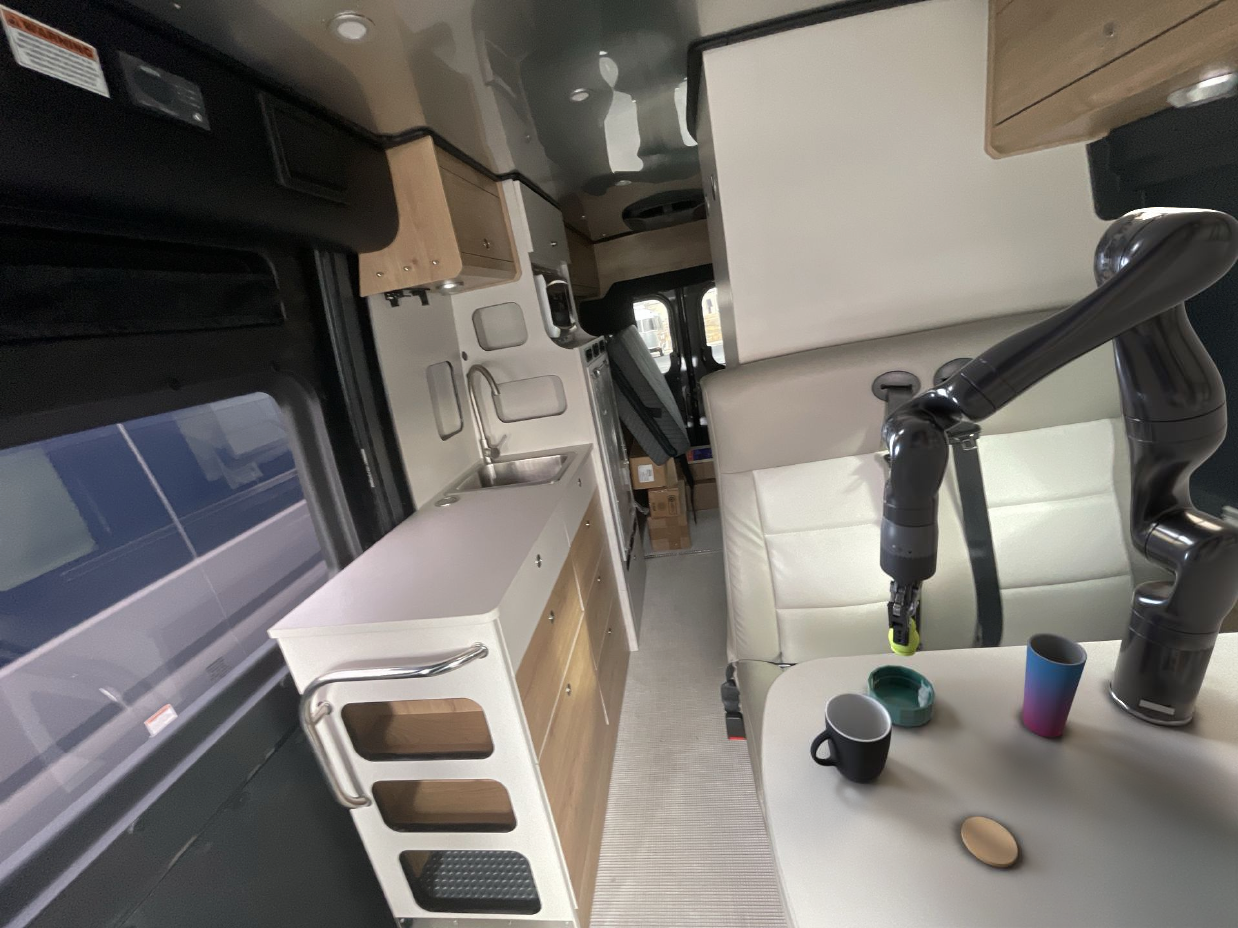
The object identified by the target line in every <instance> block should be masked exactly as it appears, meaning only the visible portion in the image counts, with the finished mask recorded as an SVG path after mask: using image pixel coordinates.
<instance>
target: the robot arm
mask: <svg viewBox="0 0 1238 928" xmlns="http://www.w3.org/2000/svg"><path fill="white" fill-rule="evenodd" d="M1092 257H1093V258H1092V271H1093V277H1094V281H1095V284H1096V287H1097V288H1096V289H1094V290H1093V291H1092V292H1091V293H1089V294H1088V295H1086V296H1085V297H1083V298H1082V299H1080V300H1078V301H1077V302H1075V303H1073V304H1071V305H1070V306H1068V307H1066V308H1064V309H1062V310H1061V311H1059V312H1056V313H1054V314H1053V315H1051V316H1048V317H1047V318H1045V319H1042V320H1040V321H1038V322H1036V323H1033V324H1031V325H1029V326H1027V327H1025V328H1023V329H1020V330H1018V331H1016V332H1014V333H1012V334H1009V335H1008V336H1006V337H1004V338H1003V339H1001V340H999V341H997V342H995V343H994V344H992V345H991V346H989V347H988V348H986V349H985V350H984V351H982V352H981V353H980V354H978V355H977V356H975V357H974V358H973V359H971V360H970V361H969V362H968V363H966V364H965V365H963V366H962V367H961V368H960V369H958V370H957V371H956V372H955V373H953V374H952V375H951V376H950V377H949V378H947V379H946V380H945V381H943V382H941V383H939V384H936V385H935V386H933V387H931V388H929V389H927V390H925V391H923V392H921V393H920V394H918V395H916V396H914V397H912V398H911V399H908V400H907V401H906V402H903V403H902V404H900V405H899V406H898V407H896V408H895V409H894V410H893V411H892V412H891V413H890V414H889V415H888V416H887V417H886V418H885V419H884V421H883V423H882V426H881V427H880V428H881V429H880V439H881V441H882V443H883V445H884V446H885V448H886V450H887V451H888V453H889V457H890V458H889V459H890V475H889V477H888V478H887V479H886V481H885V483H884V486H883V494H882V516H881V522H880V531H879V533H880V535H879V538H880V539H879V567H880V569H881V570H882V572H884V573H885V574H886V575H887V576H889V577H890V578H891V580H890V581H889V588H888V589H889V593H890V597H889V598H890V599H889V601H888V602H887V603H886V607H887V619H888V628H889V629H893V642H894V643H895V644H898V645H902V646H908V645H909V638H910V627H911V618H912V619H913V620H914V622H915V623H916V622H917V621H916V619H917V608H918V606H919V604H920V602H919V600H921V597H922V593H923V592H922V591H923V590H922V588H923V584H924V581H927V580H929V579H931V578H932V577H934V575H935V574H936V572H937V563H938V552H939V551H938V549H939V548H938V547H939V536H940V533H939V532H940V531H939V503H940V490H941V487H942V484H943V481H944V478H945V475H946V471H947V468H948V464H949V459H950V439H949V436H948V434H947V432H948V431H949V430H952V428H954V427H956V426H958V425H960V424H962V423H971V424H979V423H981V422H984V421H986V420H987V419H989V418H990V417H992V416H993V415H995V414H997V412H999V411H1001V410H1002V409H1004V408H1005V407H1006V406H1008V405H1009V404H1011V403H1012V402H1013V401H1015V400H1016V399H1017V398H1020V397H1021V396H1022V395H1024V394H1025V393H1026V392H1028V391H1029V390H1030V389H1032V388H1034V387H1035V386H1037V385H1038V384H1039V383H1041V382H1042V381H1044V380H1045V379H1047V378H1048V377H1050V376H1051V375H1053V374H1054V373H1056V372H1058V371H1059V370H1060V369H1063V368H1064V367H1066V366H1068V365H1069V364H1071V363H1072V362H1074V361H1076V360H1078V359H1080V358H1082V357H1084V356H1085V355H1087V354H1088V353H1090V352H1092V351H1094V350H1096V349H1097V348H1099V347H1101V346H1103V345H1105V344H1107V343H1109V342H1112V350H1113V360H1114V368H1115V375H1116V381H1117V388H1118V395H1119V397H1118V398H1119V409H1120V416H1121V417H1120V418H1121V424H1122V431H1123V435H1124V440H1125V445H1126V452H1127V453H1126V455H1127V466H1128V476H1129V491H1130V493H1129V494H1130V495H1129V496H1130V497H1129V516H1128V517H1129V518H1128V519H1129V520H1128V521H1129V522H1128V524H1129V526H1128V530H1129V531H1128V532H1129V541H1130V544H1131V547H1132V548H1133V550H1134V551H1135V552H1136V553H1137V554H1138V555H1139V556H1140V557H1141V558H1142V559H1144V560H1145V561H1147V562H1149V563H1151V564H1153V565H1154V566H1156V567H1158V568H1160V569H1162V570H1164V571H1166V572H1168V573H1169V574H1171V575H1173V576H1175V577H1176V578H1175V581H1173V580H1149V581H1145V582H1142V583H1140V584H1138V585H1137V586H1136V587H1135V588H1134V590H1133V592H1132V596H1131V600H1130V604H1129V608H1128V612H1127V615H1126V616H1127V617H1126V621H1125V625H1124V629H1123V633H1122V638H1121V641H1120V644H1119V645H1120V646H1119V650H1118V653H1117V658H1116V663H1115V666H1114V670H1113V674H1112V678H1111V680H1110V682H1109V686H1108V692H1109V695H1110V697H1111V698H1112V700H1113V701H1114V702H1115V703H1116V704H1117V705H1118V706H1119V707H1120V708H1121V709H1123V710H1124V711H1126V712H1128V713H1129V714H1130V715H1132V716H1134V717H1136V718H1138V719H1141V720H1143V721H1146V722H1149V723H1152V724H1155V725H1160V726H1166V727H1180V726H1185V725H1187V724H1188V723H1190V722H1191V721H1192V719H1193V716H1194V712H1195V706H1196V703H1197V700H1198V697H1199V695H1200V692H1201V688H1202V685H1203V683H1204V680H1205V677H1206V673H1207V670H1208V667H1209V664H1210V661H1211V658H1212V655H1213V652H1214V649H1215V646H1216V642H1217V639H1218V636H1219V634H1220V633H1219V632H1220V630H1221V627H1222V624H1223V621H1224V619H1225V618H1226V617H1227V615H1228V614H1229V613H1230V612H1231V611H1232V610H1233V608H1234V606H1235V605H1236V603H1237V601H1238V525H1235V524H1233V523H1231V522H1228V521H1226V520H1224V519H1221V518H1219V517H1216V516H1214V515H1211V514H1209V513H1206V512H1204V511H1201V510H1199V509H1197V508H1196V506H1195V505H1194V504H1193V502H1192V500H1191V495H1190V479H1191V478H1190V477H1191V475H1192V474H1193V472H1195V470H1196V469H1197V468H1199V467H1200V466H1201V465H1202V464H1204V462H1206V461H1207V460H1208V459H1209V458H1210V457H1211V456H1212V455H1213V454H1214V453H1215V452H1216V451H1217V450H1218V449H1219V447H1220V446H1221V445H1222V443H1223V442H1224V440H1225V438H1226V435H1227V429H1228V411H1227V409H1228V408H1227V396H1226V388H1225V385H1224V381H1223V378H1222V376H1221V374H1220V371H1219V370H1218V367H1217V365H1216V364H1215V362H1214V361H1213V359H1212V357H1211V355H1210V354H1209V352H1208V351H1207V349H1206V347H1205V346H1204V344H1203V343H1202V341H1201V340H1200V337H1198V334H1197V333H1196V331H1195V330H1194V328H1193V326H1192V324H1191V323H1190V319H1189V317H1188V315H1187V312H1186V306H1185V301H1187V300H1189V299H1191V298H1193V297H1195V296H1196V295H1198V294H1199V293H1201V292H1203V291H1205V290H1206V289H1208V288H1209V287H1211V286H1213V285H1214V284H1216V282H1218V281H1219V280H1220V279H1221V278H1222V277H1224V276H1225V275H1226V274H1227V273H1228V272H1229V271H1230V270H1231V268H1233V266H1234V265H1235V263H1236V262H1237V260H1238V220H1237V219H1236V218H1235V217H1234V216H1232V215H1230V214H1229V213H1225V212H1222V211H1218V210H1212V209H1207V208H1189V207H1147V208H1141V209H1135V210H1133V211H1130V212H1128V213H1126V214H1124V215H1122V216H1120V217H1119V218H1117V219H1116V220H1114V221H1113V222H1112V223H1111V224H1110V225H1109V226H1108V227H1107V228H1106V229H1105V231H1104V232H1103V233H1102V235H1101V236H1100V237H1099V239H1098V242H1097V244H1096V245H1095V249H1094V252H1093V256H1092Z"/></svg>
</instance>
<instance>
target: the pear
mask: <svg viewBox="0 0 1238 928" xmlns="http://www.w3.org/2000/svg"><path fill="white" fill-rule="evenodd" d="M916 629H917V625H916V622H914V620H913V619H912V618H911V627H910V638H909V645H908V646H902V645H898V644H895V643H894V642H893V629H891V628H889V631H888V641H889V643H890V648H891V650H892V651H893V652H894V653H895V654H896V655H900V656H902V657H911V656H914V655H915V654H916V653H917V648H918V647H919V646H920V641H921V640H920V634H919V632H918V631H917V630H916Z"/></svg>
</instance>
